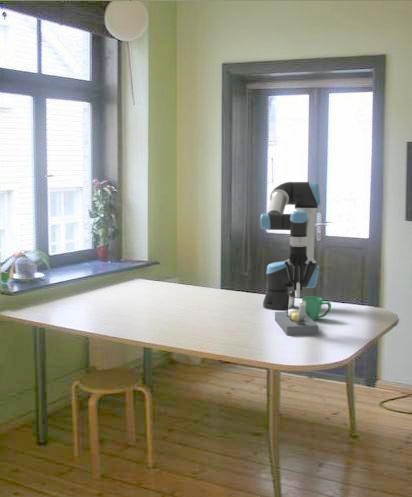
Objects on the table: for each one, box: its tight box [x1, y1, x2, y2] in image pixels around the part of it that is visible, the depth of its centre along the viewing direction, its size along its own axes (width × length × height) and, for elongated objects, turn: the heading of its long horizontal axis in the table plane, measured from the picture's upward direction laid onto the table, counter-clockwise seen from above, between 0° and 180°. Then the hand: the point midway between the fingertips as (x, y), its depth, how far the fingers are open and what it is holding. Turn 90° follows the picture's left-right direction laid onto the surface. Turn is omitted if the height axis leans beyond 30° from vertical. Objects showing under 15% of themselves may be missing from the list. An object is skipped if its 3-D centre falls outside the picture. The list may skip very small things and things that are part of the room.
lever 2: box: [298, 299, 306, 323], centre depth 319 cm, size 3×3×11 cm
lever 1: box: [287, 290, 296, 311], centre depth 340 cm, size 3×3×11 cm
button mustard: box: [292, 313, 299, 322], centre depth 329 cm, size 5×5×4 cm
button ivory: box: [287, 308, 299, 318], centre depth 336 cm, size 5×5×4 cm
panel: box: [274, 310, 319, 336], centre depth 332 cm, size 28×14×4 cm, turn 6°
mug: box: [301, 296, 332, 321], centre depth 346 cm, size 15×10×10 cm
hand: (297, 297), depth 327 cm, fingers closed
